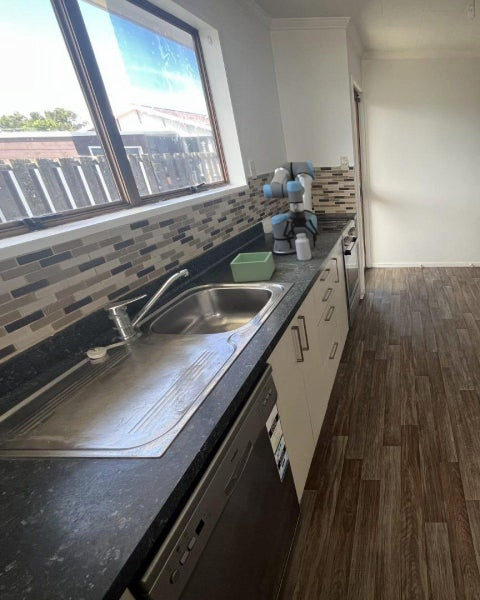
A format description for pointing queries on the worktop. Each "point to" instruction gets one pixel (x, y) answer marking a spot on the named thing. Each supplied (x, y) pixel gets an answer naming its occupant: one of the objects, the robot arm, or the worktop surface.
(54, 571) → the worktop surface
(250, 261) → the bin
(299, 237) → the pill bottle
